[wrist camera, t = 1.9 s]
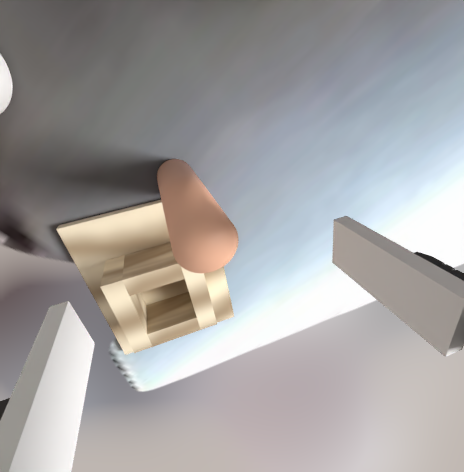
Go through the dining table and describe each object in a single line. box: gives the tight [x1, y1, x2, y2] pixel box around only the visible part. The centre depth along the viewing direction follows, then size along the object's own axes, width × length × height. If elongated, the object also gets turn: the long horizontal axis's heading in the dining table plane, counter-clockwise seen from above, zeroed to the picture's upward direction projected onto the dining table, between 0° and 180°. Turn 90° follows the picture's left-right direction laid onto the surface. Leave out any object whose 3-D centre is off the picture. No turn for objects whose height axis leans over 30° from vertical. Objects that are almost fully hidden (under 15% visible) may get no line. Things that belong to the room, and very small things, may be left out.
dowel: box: [157, 159, 238, 273], centre depth 23 cm, size 4×4×16 cm
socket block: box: [57, 200, 234, 355], centre depth 32 cm, size 20×16×6 cm
